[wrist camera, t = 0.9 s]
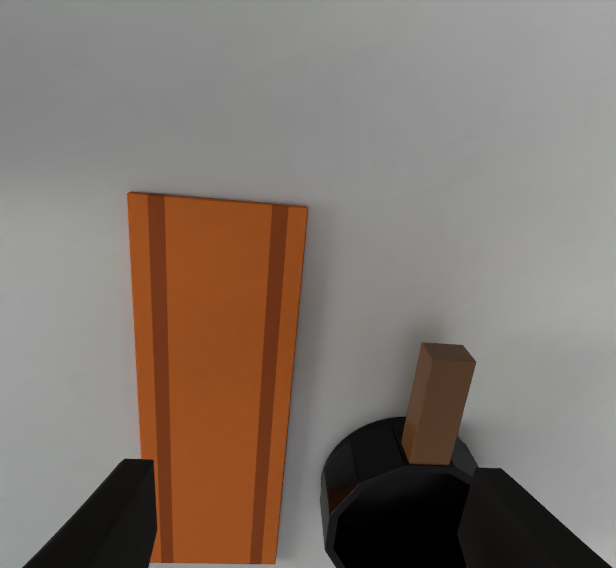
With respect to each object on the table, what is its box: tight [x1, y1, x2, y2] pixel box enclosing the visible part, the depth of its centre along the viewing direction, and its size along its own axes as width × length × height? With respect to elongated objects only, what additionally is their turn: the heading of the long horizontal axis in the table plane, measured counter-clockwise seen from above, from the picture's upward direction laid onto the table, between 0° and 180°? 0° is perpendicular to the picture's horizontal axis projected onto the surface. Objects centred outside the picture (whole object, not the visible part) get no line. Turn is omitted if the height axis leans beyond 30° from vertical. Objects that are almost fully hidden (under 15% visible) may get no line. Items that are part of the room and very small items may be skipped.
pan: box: [320, 343, 479, 568], centre depth 20 cm, size 13×8×3 cm, turn 175°
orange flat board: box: [127, 192, 308, 564], centre depth 20 cm, size 20×7×1 cm, turn 175°
